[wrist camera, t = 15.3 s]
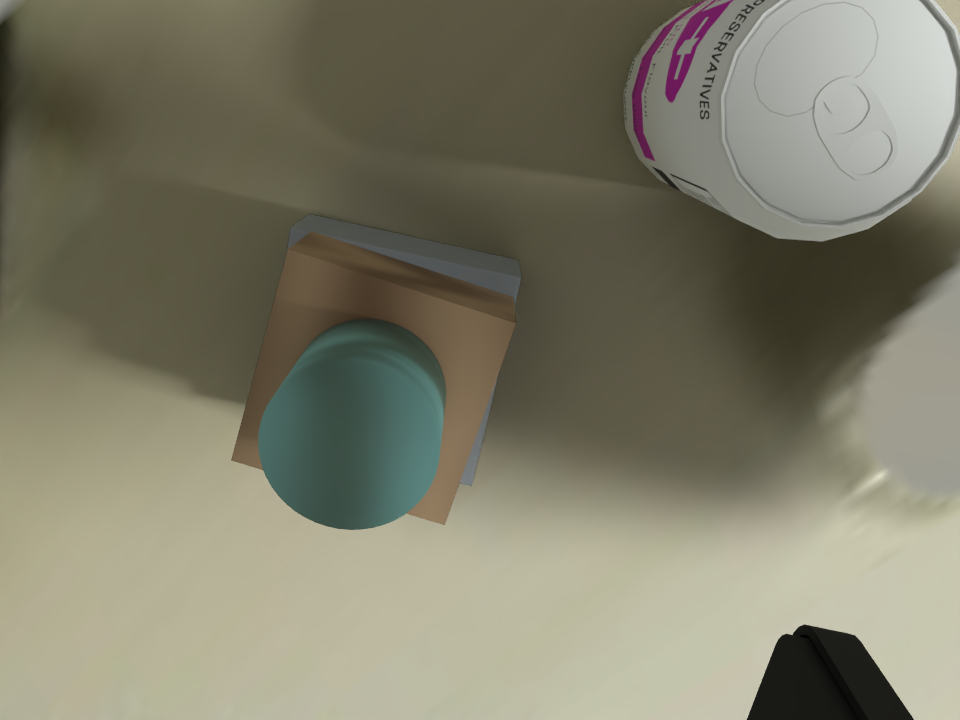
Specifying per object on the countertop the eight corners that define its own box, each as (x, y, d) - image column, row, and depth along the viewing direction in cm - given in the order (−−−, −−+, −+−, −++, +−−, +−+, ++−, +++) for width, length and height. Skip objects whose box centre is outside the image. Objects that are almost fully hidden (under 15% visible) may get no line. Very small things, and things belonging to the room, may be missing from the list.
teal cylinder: (457, 332, 33) (452, 377, 28) (433, 473, 35) (425, 541, 30) (301, 307, 33) (266, 347, 28) (285, 451, 35) (250, 515, 29)
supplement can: (584, 80, 39) (642, 73, 24) (745, -38, 37) (907, -121, 23) (681, 228, 40) (788, 302, 26) (838, 121, 39) (1042, 137, 25)
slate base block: (517, 258, 41) (521, 278, 37) (473, 447, 44) (471, 485, 40) (311, 213, 41) (290, 227, 36) (279, 407, 44) (257, 441, 39)
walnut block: (513, 297, 37) (516, 323, 33) (449, 478, 40) (444, 524, 36) (311, 230, 37) (287, 249, 32) (259, 420, 39) (231, 460, 35)
